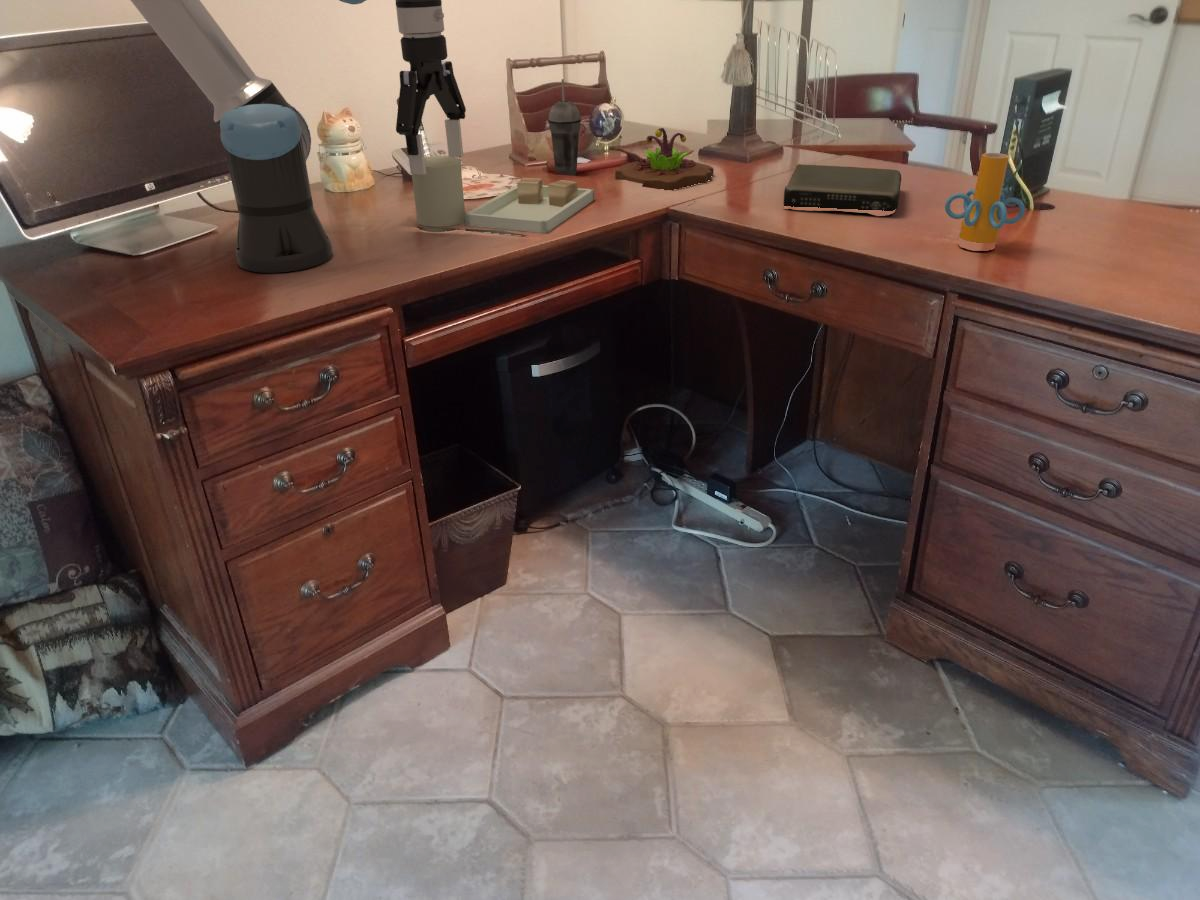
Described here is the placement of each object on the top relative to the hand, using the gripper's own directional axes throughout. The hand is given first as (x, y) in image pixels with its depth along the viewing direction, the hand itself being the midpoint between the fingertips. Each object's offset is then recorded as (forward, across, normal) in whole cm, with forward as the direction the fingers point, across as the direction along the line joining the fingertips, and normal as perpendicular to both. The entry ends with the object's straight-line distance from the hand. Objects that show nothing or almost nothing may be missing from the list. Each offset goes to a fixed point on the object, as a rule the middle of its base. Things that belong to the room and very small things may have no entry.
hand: (438, 165), depth 157 cm
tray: (+11, +10, -14) cm, 20 cm away
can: (+11, 0, 0) cm, 11 cm away
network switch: (+13, +40, -68) cm, 79 cm away
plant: (+12, +47, -28) cm, 56 cm away
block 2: (+10, +17, -17) cm, 26 cm away
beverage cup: (+12, +44, -6) cm, 46 cm away
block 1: (+10, +17, -10) cm, 22 cm away
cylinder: (+12, +16, -92) cm, 95 cm away
